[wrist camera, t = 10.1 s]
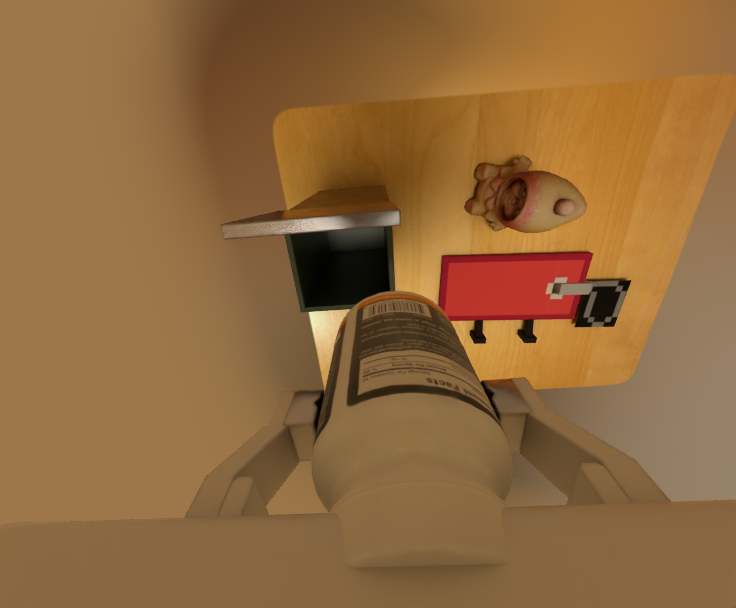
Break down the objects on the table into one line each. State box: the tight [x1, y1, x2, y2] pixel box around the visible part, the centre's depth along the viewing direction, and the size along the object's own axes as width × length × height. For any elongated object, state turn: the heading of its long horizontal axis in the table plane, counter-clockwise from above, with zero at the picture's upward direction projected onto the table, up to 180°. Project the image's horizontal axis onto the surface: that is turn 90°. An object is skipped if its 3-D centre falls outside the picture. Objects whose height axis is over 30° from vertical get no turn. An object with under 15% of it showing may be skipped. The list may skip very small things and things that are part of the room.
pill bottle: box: [312, 291, 513, 568], centre depth 10 cm, size 6×6×10 cm
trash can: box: [285, 186, 395, 312], centre depth 36 cm, size 10×10×20 cm
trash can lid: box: [221, 201, 401, 239], centre depth 20 cm, size 10×10×1 cm
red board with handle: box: [439, 252, 631, 344], centre depth 48 cm, size 30×3×15 cm
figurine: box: [465, 155, 587, 233], centre depth 36 cm, size 10×8×15 cm
